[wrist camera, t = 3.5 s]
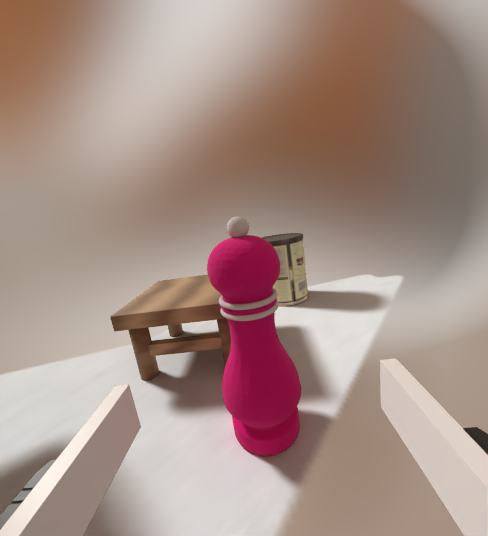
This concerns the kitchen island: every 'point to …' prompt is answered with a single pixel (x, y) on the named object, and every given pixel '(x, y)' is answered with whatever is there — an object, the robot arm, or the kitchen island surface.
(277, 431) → the pepper mill
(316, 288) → the kitchen island surface
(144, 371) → the stool
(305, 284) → the coffee can
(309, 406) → the kitchen island surface
